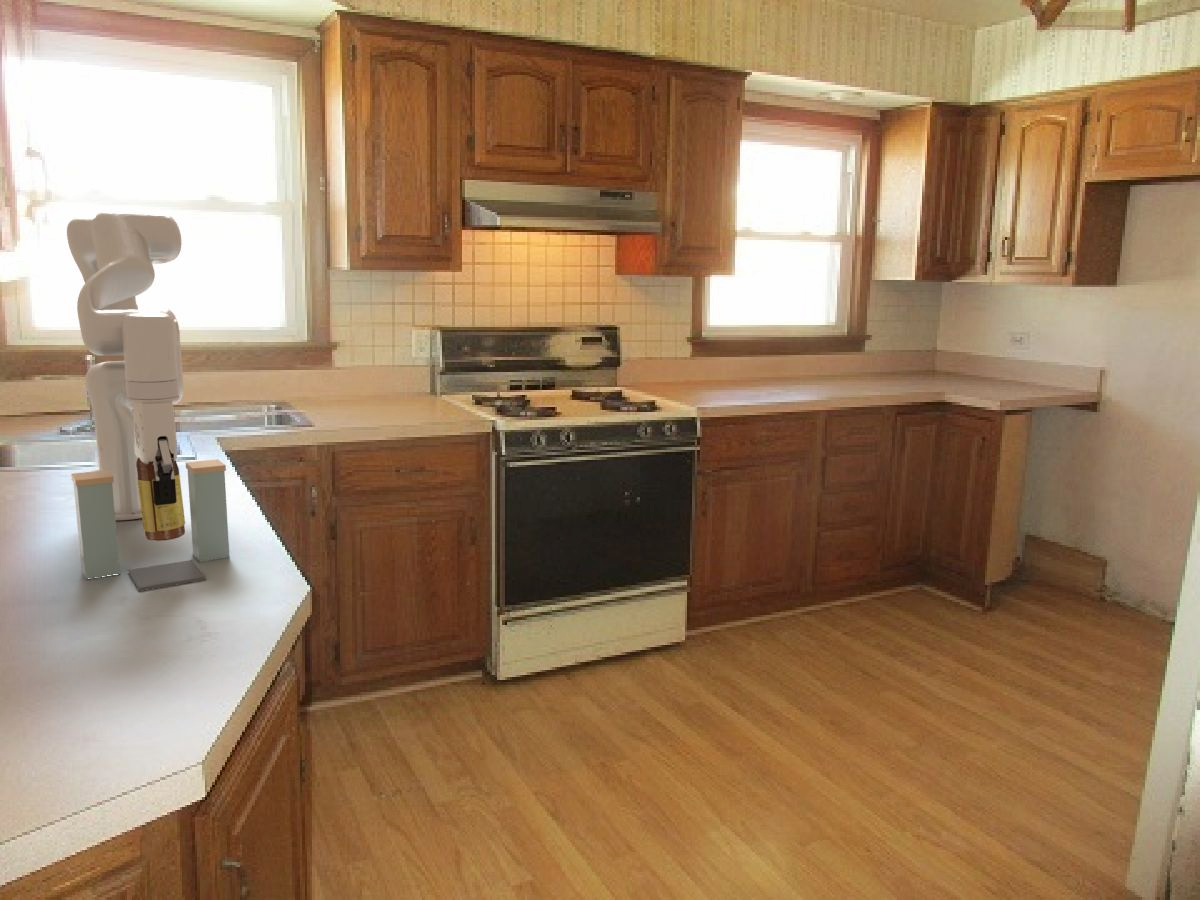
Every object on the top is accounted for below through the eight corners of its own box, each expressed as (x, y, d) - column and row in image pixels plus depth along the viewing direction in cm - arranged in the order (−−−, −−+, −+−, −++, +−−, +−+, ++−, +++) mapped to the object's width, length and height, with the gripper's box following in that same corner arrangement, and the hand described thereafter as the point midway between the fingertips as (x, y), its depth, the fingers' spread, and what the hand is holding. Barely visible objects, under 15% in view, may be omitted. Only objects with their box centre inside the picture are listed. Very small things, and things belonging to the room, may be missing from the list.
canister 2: (191, 554, 159) (185, 462, 155) (223, 549, 162) (217, 459, 158) (198, 562, 154) (192, 468, 151) (230, 557, 158) (225, 465, 154)
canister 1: (80, 571, 148) (71, 473, 145) (116, 565, 152) (108, 470, 148) (84, 580, 144) (75, 480, 141) (121, 574, 147) (113, 476, 144)
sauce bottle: (192, 531, 149) (184, 415, 145) (175, 542, 143) (167, 422, 139) (152, 530, 149) (143, 415, 145) (134, 542, 142) (125, 421, 138)
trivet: (128, 573, 148) (128, 569, 148) (192, 563, 154) (191, 559, 154) (139, 591, 140) (138, 587, 140) (205, 579, 146) (205, 576, 146)
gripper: (118, 385, 145) (126, 491, 149) (136, 399, 132) (145, 514, 135) (167, 383, 150) (174, 485, 153) (190, 396, 136) (198, 508, 140)
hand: (161, 498), depth 144 cm, fingers closed on sauce bottle, 6 cm apart
